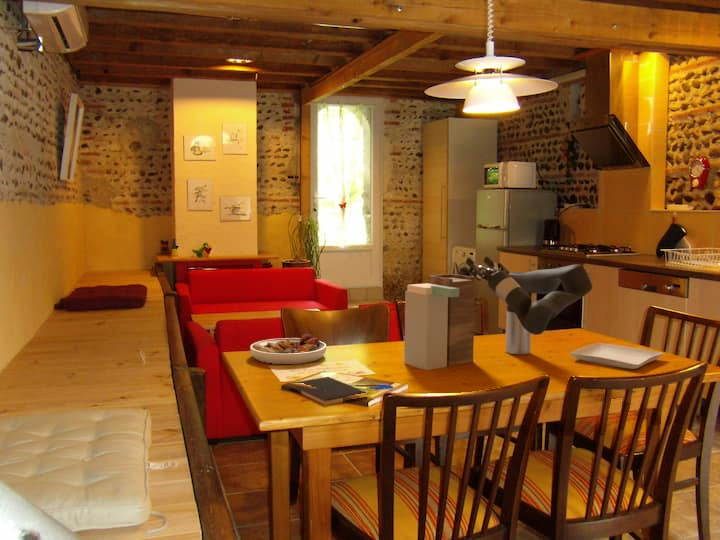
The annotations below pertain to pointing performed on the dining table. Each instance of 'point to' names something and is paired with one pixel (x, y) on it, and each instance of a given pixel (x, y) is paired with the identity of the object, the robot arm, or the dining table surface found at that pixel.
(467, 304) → the wood grain pillar
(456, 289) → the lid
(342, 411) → the dining table surface
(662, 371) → the dining table surface
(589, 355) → the square plate
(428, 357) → the tall grey pillar
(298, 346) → the bowl
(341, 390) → the hardcover book
